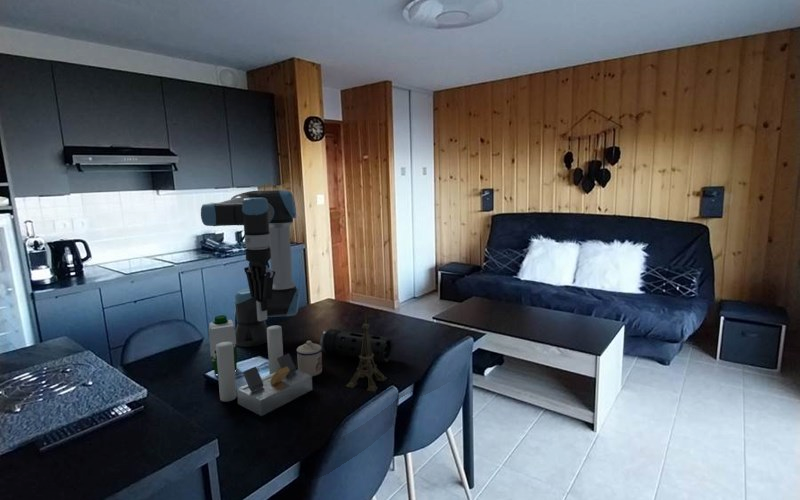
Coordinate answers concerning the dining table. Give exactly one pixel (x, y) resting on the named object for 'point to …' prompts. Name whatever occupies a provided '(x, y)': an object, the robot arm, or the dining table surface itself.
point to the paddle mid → (279, 375)
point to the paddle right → (287, 363)
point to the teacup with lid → (310, 358)
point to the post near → (226, 371)
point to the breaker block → (274, 392)
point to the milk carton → (221, 337)
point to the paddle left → (253, 379)
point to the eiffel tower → (366, 368)
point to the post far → (274, 347)
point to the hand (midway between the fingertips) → (262, 319)
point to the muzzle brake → (355, 344)
